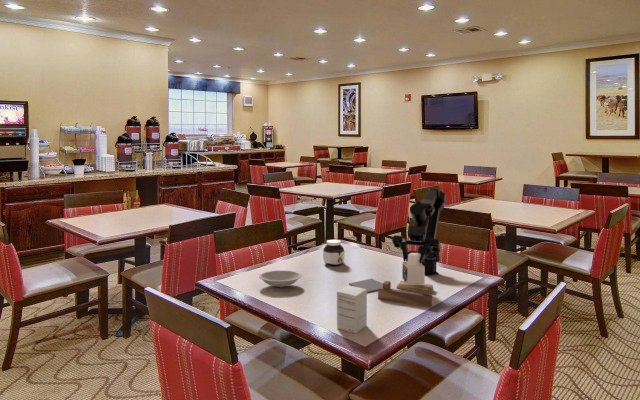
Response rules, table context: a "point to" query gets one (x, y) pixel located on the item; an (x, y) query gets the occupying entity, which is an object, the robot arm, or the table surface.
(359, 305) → the supplement box
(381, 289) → the walnut rack
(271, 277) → the dish
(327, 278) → the table surface
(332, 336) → the table surface
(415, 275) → the medicine bottle
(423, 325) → the table surface
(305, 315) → the table surface
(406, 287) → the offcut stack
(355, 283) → the rubber mat
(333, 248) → the spread jar
